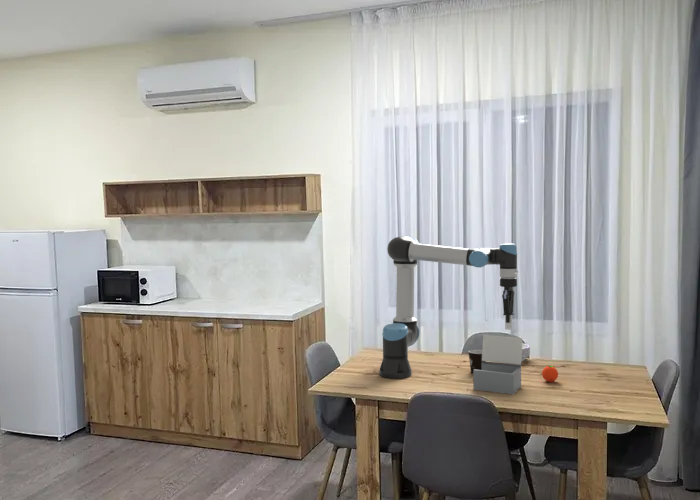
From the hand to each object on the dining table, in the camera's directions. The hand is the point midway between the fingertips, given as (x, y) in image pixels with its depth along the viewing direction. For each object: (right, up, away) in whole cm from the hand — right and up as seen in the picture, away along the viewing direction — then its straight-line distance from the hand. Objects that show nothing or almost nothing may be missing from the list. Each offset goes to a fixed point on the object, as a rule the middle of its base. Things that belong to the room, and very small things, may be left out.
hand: (508, 329), depth 282 cm
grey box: (-9, -24, -14) cm, 29 cm away
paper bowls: (+12, -21, +36) cm, 43 cm away
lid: (-5, -8, -9) cm, 13 cm away
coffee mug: (-11, -22, +13) cm, 28 cm away
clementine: (+18, -23, -5) cm, 29 cm away
